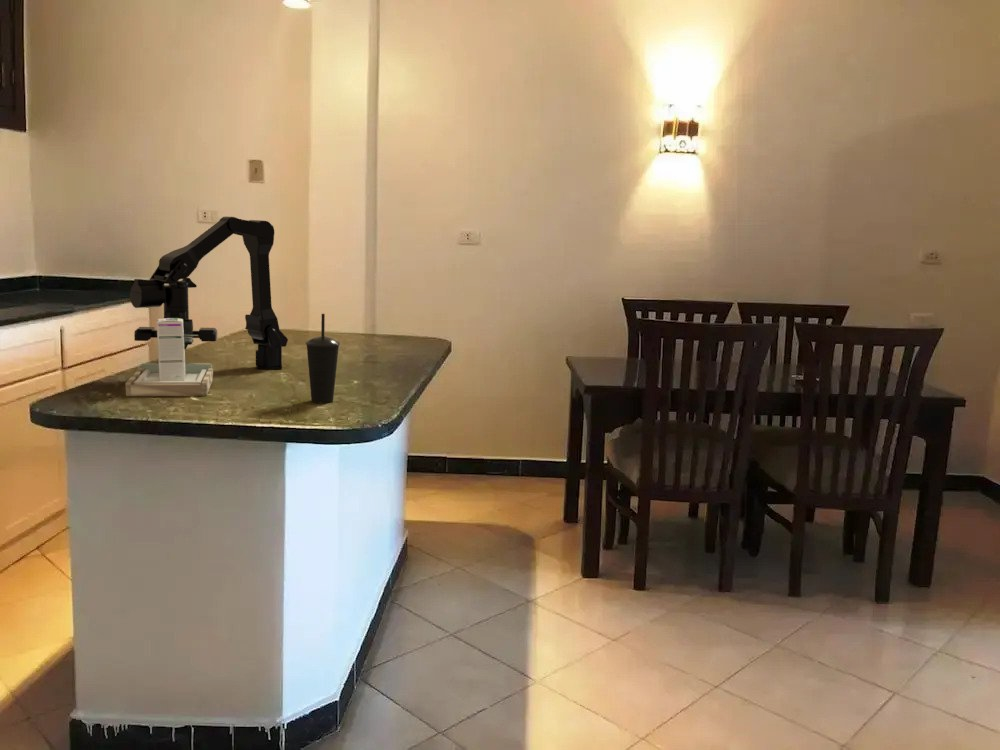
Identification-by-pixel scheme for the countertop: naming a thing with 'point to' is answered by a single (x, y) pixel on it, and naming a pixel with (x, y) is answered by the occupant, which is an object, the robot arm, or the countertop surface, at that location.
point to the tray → (192, 376)
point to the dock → (168, 387)
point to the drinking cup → (322, 366)
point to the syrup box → (171, 349)
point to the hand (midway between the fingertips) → (177, 368)
